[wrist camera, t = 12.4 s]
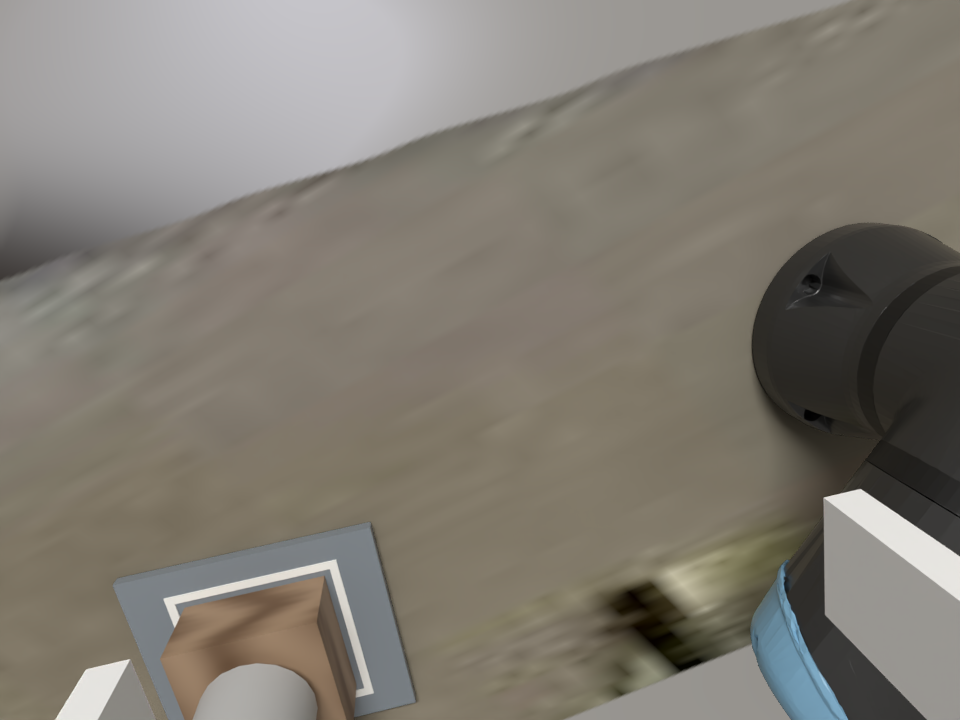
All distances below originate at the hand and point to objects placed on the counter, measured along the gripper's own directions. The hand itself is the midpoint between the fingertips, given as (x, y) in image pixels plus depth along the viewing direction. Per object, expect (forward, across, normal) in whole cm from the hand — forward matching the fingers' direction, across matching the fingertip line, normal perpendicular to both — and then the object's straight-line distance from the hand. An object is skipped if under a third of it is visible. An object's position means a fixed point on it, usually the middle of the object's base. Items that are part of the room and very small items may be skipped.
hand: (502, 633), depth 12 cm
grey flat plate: (+32, +16, +23) cm, 42 cm away
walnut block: (+31, +16, +23) cm, 42 cm away
